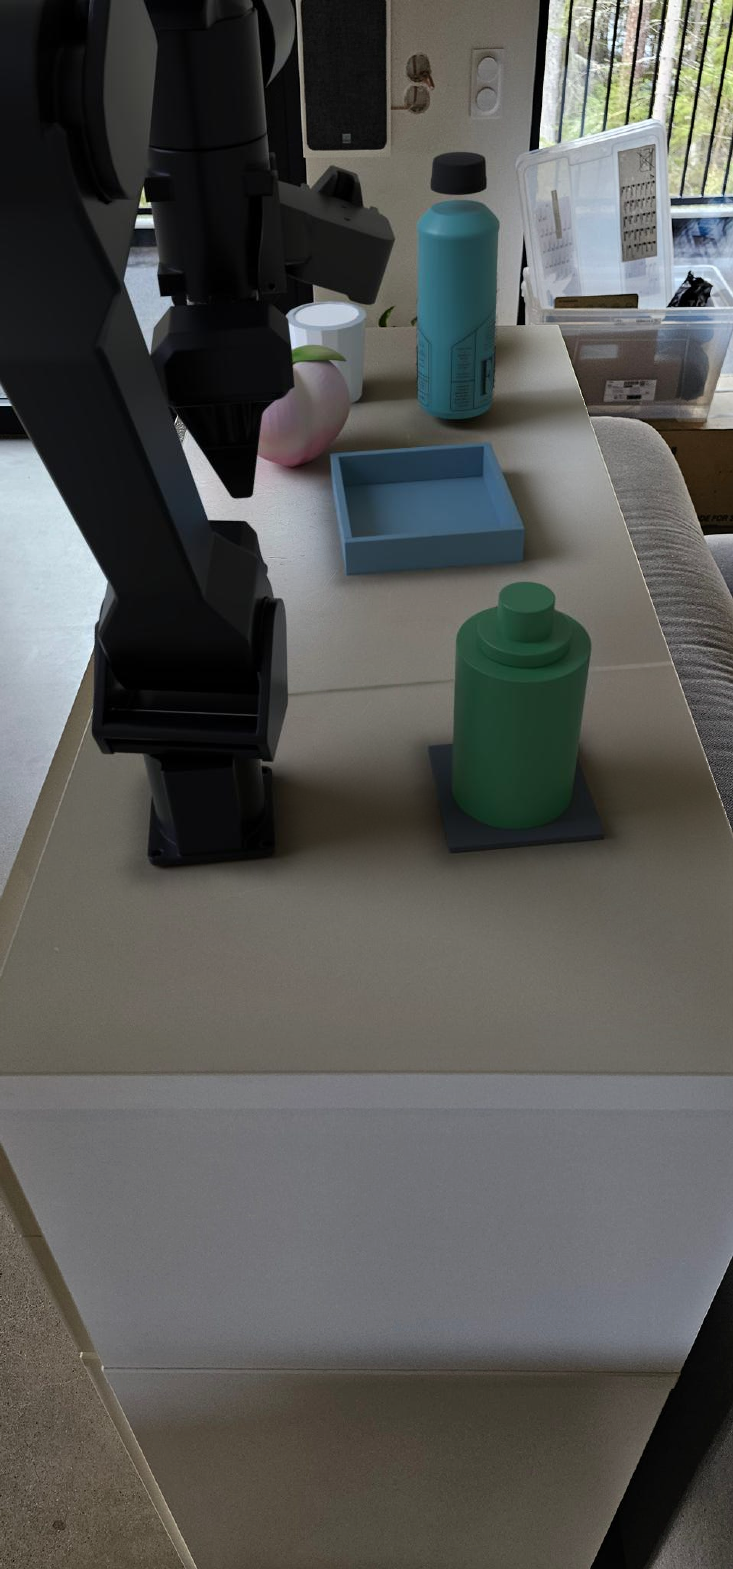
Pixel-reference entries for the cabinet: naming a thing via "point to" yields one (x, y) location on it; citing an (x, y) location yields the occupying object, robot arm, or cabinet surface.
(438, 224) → the beverage bottle
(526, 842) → the mat
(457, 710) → the green bottle
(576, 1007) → the cabinet surface
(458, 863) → the cabinet surface
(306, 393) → the decorative fruit
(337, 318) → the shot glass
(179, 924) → the cabinet surface
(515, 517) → the tray
